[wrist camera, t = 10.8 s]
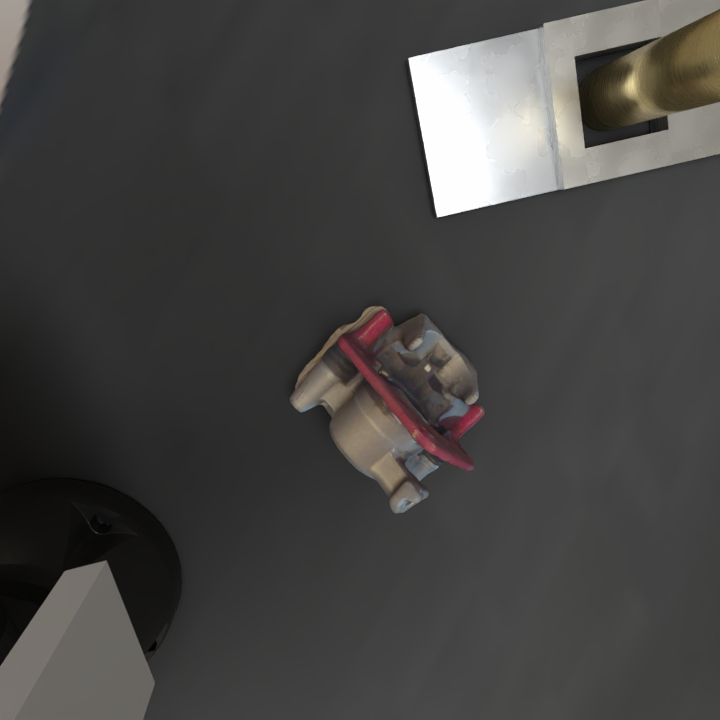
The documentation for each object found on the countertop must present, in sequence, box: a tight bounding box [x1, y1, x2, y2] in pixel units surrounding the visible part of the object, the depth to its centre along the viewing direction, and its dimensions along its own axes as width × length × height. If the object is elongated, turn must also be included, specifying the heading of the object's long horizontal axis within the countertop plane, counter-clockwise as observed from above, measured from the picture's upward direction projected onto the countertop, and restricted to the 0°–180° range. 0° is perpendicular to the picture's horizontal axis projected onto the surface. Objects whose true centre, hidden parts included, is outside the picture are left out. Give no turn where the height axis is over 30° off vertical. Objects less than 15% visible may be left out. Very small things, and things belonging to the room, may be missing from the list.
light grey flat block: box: [537, 0, 720, 190], centre depth 35 cm, size 16×9×2 cm, turn 103°
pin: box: [578, 9, 720, 131], centre depth 29 cm, size 4×4×15 cm
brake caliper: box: [290, 306, 485, 513], centre depth 36 cm, size 11×11×12 cm
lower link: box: [406, 29, 659, 217], centre depth 36 cm, size 16×9×1 cm, turn 103°
